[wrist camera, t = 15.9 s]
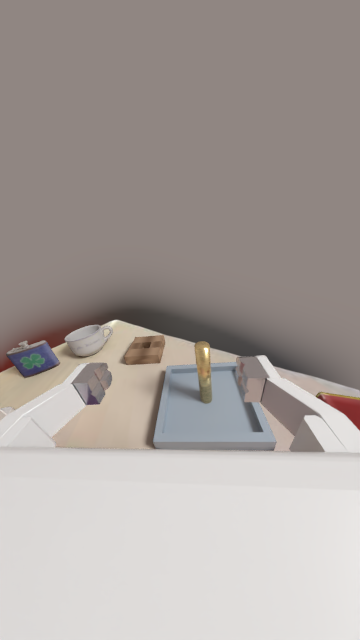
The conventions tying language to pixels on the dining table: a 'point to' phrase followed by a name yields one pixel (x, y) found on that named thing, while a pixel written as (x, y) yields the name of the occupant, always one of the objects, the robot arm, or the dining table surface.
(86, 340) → the teacup
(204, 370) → the pin
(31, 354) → the flask
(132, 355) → the pin block
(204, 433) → the tray
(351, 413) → the hardcover book
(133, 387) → the dining table surface
